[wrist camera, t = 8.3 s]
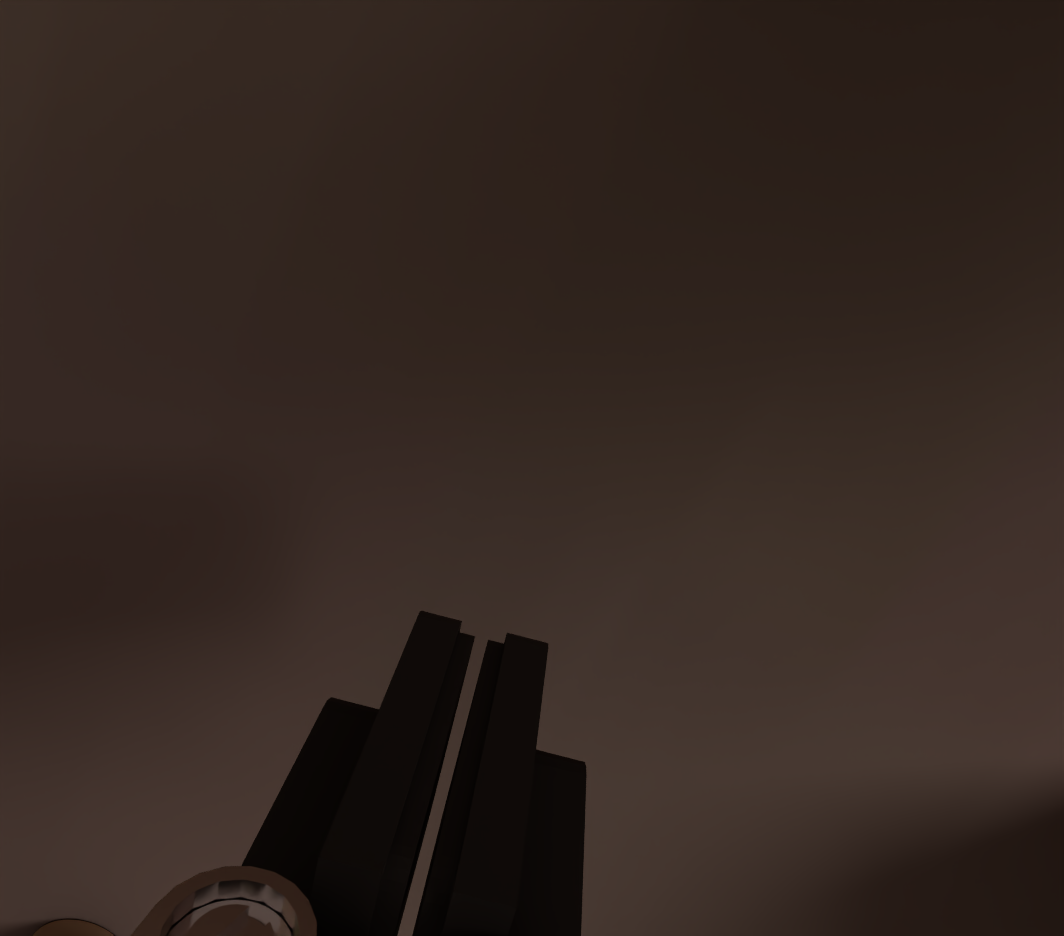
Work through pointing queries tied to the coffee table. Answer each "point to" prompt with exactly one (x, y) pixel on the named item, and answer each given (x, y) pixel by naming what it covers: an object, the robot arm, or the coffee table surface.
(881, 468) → the coffee table surface
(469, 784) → the robot arm
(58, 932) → the post
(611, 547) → the coffee table surface
